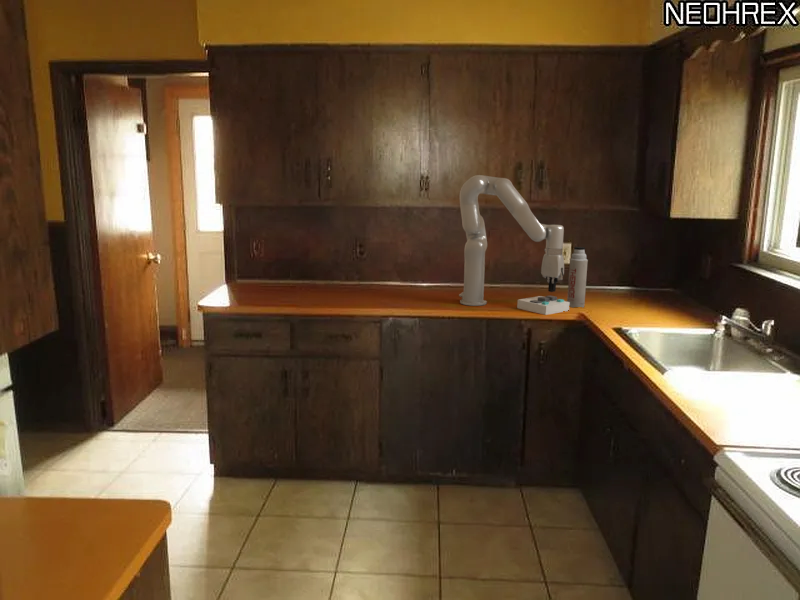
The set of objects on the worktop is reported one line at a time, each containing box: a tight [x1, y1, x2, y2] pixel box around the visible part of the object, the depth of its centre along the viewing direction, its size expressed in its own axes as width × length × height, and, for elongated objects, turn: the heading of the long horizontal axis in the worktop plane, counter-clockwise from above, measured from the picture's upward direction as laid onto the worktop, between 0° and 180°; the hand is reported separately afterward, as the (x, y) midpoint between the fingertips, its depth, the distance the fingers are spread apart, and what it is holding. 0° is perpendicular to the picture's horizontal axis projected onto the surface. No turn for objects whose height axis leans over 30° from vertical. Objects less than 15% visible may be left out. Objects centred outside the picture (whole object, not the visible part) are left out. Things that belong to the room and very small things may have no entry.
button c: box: [544, 294, 558, 301], centre depth 306 cm, size 4×3×4 cm
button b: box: [537, 296, 550, 302], centre depth 303 cm, size 4×3×4 cm
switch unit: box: [516, 295, 570, 316], centre depth 303 cm, size 17×16×5 cm
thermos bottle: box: [566, 246, 589, 308], centre depth 309 cm, size 8×8×28 cm
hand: (551, 291), depth 305 cm, fingers closed
